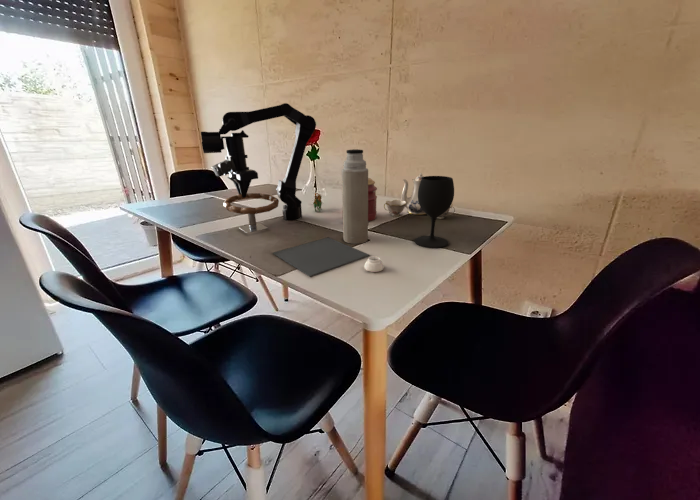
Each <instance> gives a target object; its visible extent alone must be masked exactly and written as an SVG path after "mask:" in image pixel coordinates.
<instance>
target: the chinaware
mask: <svg viewBox="0 0 700 500" xmlns="http://www.w3.org/2000/svg"><path fill="white" fill-rule="evenodd" d="M422 177H425V176H423V173H422V172H420V173H419V174H418V175H417V176H416V178H414V179H412V191H411V194H410V196H409V197H408V190H409V181H408V180H407V179H405V178H404V179H402V181H403V183H404V186H403V189H402V192H401V196H400V198H401V199H400V200H399V199H393V200H386V201H385V203H384V204H383V208H384V210H385V211H388V213H389V214H390V213H391V214H390V216H392V217H399V216H400V214H401V213H403V211H404V210H405V209H407V213H408V214H410V215H415V216H422V215H427V214H426V213H425V212H424V211H423V210H422V208H421V207H420V205H419V202H418V189H419V185H420V182H421V179H422ZM452 208H453V212H452V213H451V215H453V214H455V212H456V208H455V207H454V206H453V203H452V204H451V206H450V207H449V209H448V210H447V211H446V212H444V213H443V214H442V215H440V216H438V217H437V218H436V219H437V220H442V219H445V217H448V215H450V209H452Z"/></svg>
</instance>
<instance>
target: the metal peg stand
mask: <svg viewBox="0 0 700 500" xmlns="http://www.w3.org/2000/svg"><path fill="white" fill-rule="evenodd" d="M247 219H248V225H244V226H237V227H238V229H240V230H241V231H243V232H244V233H246V234H249V233H253V232H257V231H258V232H259V231H261V230H266V229H269V227H268V226H266V225H264V224H262V223H260V222H258V223H257V219H256V214H247Z"/></svg>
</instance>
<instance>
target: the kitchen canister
mask: <svg viewBox="0 0 700 500" xmlns="http://www.w3.org/2000/svg"><path fill="white" fill-rule="evenodd" d="M375 184H376V181H375V180H373V179H372V178H370V177H368V222H371V221H374V220H376V218H377V214H378V211H377V198H378V196H377V195H376V194H377V190H378V187H377V186H375Z"/></svg>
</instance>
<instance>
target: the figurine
mask: <svg viewBox="0 0 700 500" xmlns="http://www.w3.org/2000/svg"><path fill="white" fill-rule="evenodd" d="M313 197H314V201H313V203H312V204H313V208H314V212H317V211H322V210H323V209H322V205H323V202H322V198H323V197H322V194H321V193H318V192H315V193H314V196H313Z"/></svg>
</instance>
